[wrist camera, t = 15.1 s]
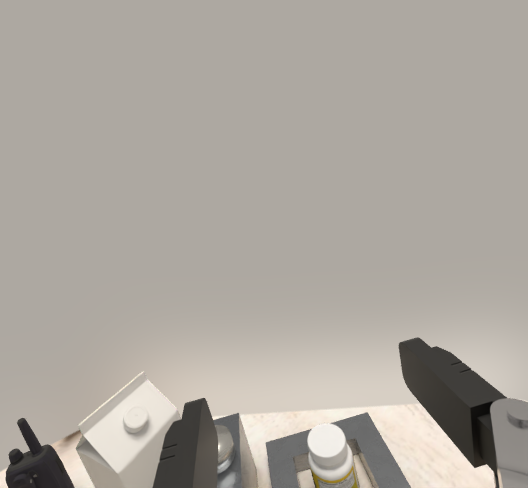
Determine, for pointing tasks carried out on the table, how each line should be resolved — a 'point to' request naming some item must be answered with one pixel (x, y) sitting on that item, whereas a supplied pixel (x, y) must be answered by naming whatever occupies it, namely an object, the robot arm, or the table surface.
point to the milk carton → (126, 436)
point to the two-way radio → (36, 465)
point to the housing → (301, 455)
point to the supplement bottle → (331, 458)
